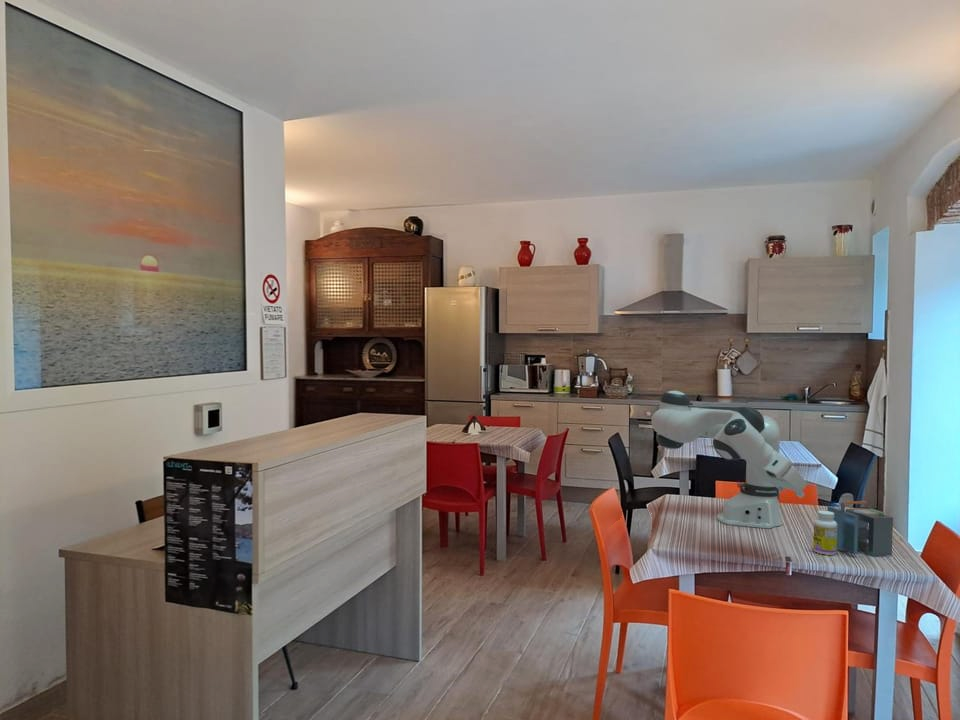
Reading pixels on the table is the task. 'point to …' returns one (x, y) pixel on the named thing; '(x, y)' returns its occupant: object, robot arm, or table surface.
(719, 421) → the robot arm
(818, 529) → the supplement bottle
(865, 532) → the gauge plunger
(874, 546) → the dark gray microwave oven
